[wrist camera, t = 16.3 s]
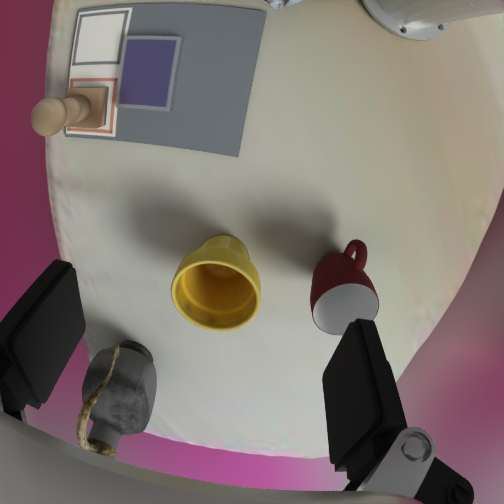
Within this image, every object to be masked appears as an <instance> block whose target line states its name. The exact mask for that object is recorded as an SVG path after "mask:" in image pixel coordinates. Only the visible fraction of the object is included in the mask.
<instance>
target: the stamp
mask: <svg viewBox="0 0 504 504" xmlns="http://www.w3.org/2000/svg"><path fill="white" fill-rule="evenodd" d="M108 93H109V87H73V88H67V89H66V98H65V99H59V98H56V97H48V98H45V99H43V100H41V101H40V102H39V103H38V104H37V105H36V106H35V108H34V109H33V112H32V115H31V123H32V127H33V129H34V130H35V131H36V132H37V133H38V134H40V135H42V136H52V135H55V134H56V133H58V132H59V131H61V130H62V128H63V127H76V128H94V129H97V128H99V127H102V126H105V125H106V115H107V103H108Z"/></svg>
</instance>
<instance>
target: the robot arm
mask: <svg viewBox="0 0 504 504" xmlns="http://www.w3.org/2000/svg"><path fill="white" fill-rule="evenodd" d="M362 2H363V4H364V6H365V8H366V9H367V11H368V12H369V14H370V15H371V16H372V17H373V18H374V19H375V20H376V21H377V22H378V23H379V24H380V25H381V26H383V27H384V28H385V29H387V30H388V31H390V32H392V33H393V34H395V35H398V36H400V37H402V38H406V39H410V40H418V41H420V40H429V39H433V38H436V37H438V36H440V35H441V34H443V33H444V32H445V31H446V30H447V28H448V27H449V26H450V23H451V22H453V21H458V20H463V19H468V18H474V17H479V16H486V15H492V14H499V13H504V0H362ZM438 27H439V28H438ZM400 29H401V30H402V32H401V31H400ZM85 328H86V324H85V319H84V314H83V309H82V304H81V299H80V293H79V288H78V282H77V275H76V270H75V268H73V267H72V264H71V263H70V262H66V261H62V260H58V259H56V260H54V261H53V262H52V263H51V264H50V265H49V266H48V267H47V268H46V270H45V271H44V272H43V273H42V274H41V275H40V276H39V277H38V278H37V280H35V282H34V283H33V284H32V285H31V286H30V287H29V289H28V290H27V291H26V292H25V293H24V294H23V295H22V297H21V298H20V299H19V300H18V301H17V303H16V304H15V305H14V306H13V307H12V309H11V310H10V311H9V312H8V313H7V315H6V316H5V317H4V318H3V320H2V321H1V323H0V504H474V503H473V500H474V491H473V487H472V486H471V484H470V482H469V481H468V480H466V479H465V478H464V477H462V476H461V475H459V474H458V473H457V472H455V471H454V470H453V469H451V468H450V467H448V466H447V465H445V464H444V463H443V462H442V461H440V460H438V459H437V458H436V457H435V451H436V450H435V443H434V441H433V439H432V437H431V436H430V434H428V433H427V432H426V431H425V430H423V429H421V428H418V427H409V428H408V427H407V423H406V419H405V416H404V412H403V408H402V404H401V400H400V397H399V393H398V390H397V386H396V383H395V379H394V376H393V372H392V369H391V366H390V364H389V362H388V361H387V359H386V356H385V353H384V350H383V347H382V343H381V340H380V337H379V334H378V331H377V328H376V325H375V322H374V321H373V320H368V319H360V318H357V319H356V320H355V321H354V322H350V323H349V325H348V327H347V329H346V331H345V333H344V335H343V337H342V339H341V340H340V342H339V344H338V346H337V348H336V350H335V352H334V354H333V356H332V358H331V360H330V361H329V363H328V365H327V367H326V369H325V371H324V373H323V378H322V382H323V391H324V401H325V411H326V421H327V432H328V443H329V456H330V462H331V464H335V472H339V471H340V472H342V471H347V479H348V481H347V482H346V483H345V484H344V486H343V487H342V488H341V489H340V490H339V491H294V490H275V489H261V488H250V487H241V486H233V485H225V484H218V483H211V482H206V481H200V480H195V479H189V478H184V477H179V476H175V475H170V474H165V473H162V472H158V471H153V470H150V469H146V468H142V467H138V466H135V465H131V464H128V463H125V462H122V461H118V460H115V459H112V458H109V457H106V456H103V455H100V454H97V453H95V452H92V451H89V450H86V449H84V448H81V447H78V446H76V445H73V444H71V443H68V442H66V441H63V440H61V439H59V438H56V437H54V436H52V435H50V434H47V433H45V432H43V431H41V430H39V429H37V428H34V427H32V426H30V425H28V424H27V421H26V416H25V412H24V408H25V406H26V404H28V405H30V406H32V407H34V408H36V409H39V408H40V406H41V404H42V403H46V401H47V400H48V398H49V396H50V394H51V392H52V390H53V388H54V386H55V384H56V383H57V381H58V379H59V376H60V375H61V373H62V371H63V370H64V368H65V366H66V364H67V362H68V360H69V359H70V357H71V355H72V353H73V352H74V350H75V348H76V346H77V345H78V343H79V341H80V339H81V338H82V336H83V334H84V332H85ZM476 504H478V503H476Z"/></svg>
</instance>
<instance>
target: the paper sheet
mask: <svg viewBox="0 0 504 504" xmlns="http://www.w3.org/2000/svg"><path fill="white" fill-rule="evenodd" d="M131 13H132V7H131V8H115V9H104V10H95V11H86V12H79V16H78V21H77V27H76V33H75V39H74V45H73V52H72V60H71V68H70V77H69V88H73V87H109V93H108V103H107V115H106V125H105V126H102V127H99V128H97V129H94V128H76V127H66V133H67V134H84V135H98V136H111V137H115V132H116V118H117V107H116V97H117V87H118V79H119V71H120V64H121V57H122V51H123V44H124V38H125V36H127V33H128V28H129V23H130V18H131Z"/></svg>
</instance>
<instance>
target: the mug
mask: <svg viewBox="0 0 504 504" xmlns="http://www.w3.org/2000/svg"><path fill="white" fill-rule="evenodd" d="M355 251H356V255H355V260H354V259H353V258H352V257H351V256H352V255H353V253H354V252H355ZM366 261H367V248H366V245H365V244H364V242H362V241H360V240H352V241H350V242H349V244H348V245H347V247H346V249H345V251H344V253H343V254H342V253H330V254H328V255H326V256H324V257H323V258H322V259H321V260H320V262H319V263H318V264H317V266H316V268H315V270H314V273H313V278H312V286H311V295H310V304H311V311H312V317H313V320H314V322H315V324H316V326H317V327H318V328H319V329H321V330H322V331H324V332H326V333H328V334H332V335H344V333H345V331H346V329H347V327H348V325H349V323H350V322H354V321H355V320H356V319H357V318H360V319H368V320H373V319H374V318H375V317H376V315H377V312H378V309H379V299H378V296H377V293H376V291H375V288H374V286H373V284H372V282H371V280H370V279H369V277H368V276H367V275H366V273H365V272H364V271H363V269H364V267H365V264H366Z"/></svg>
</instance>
